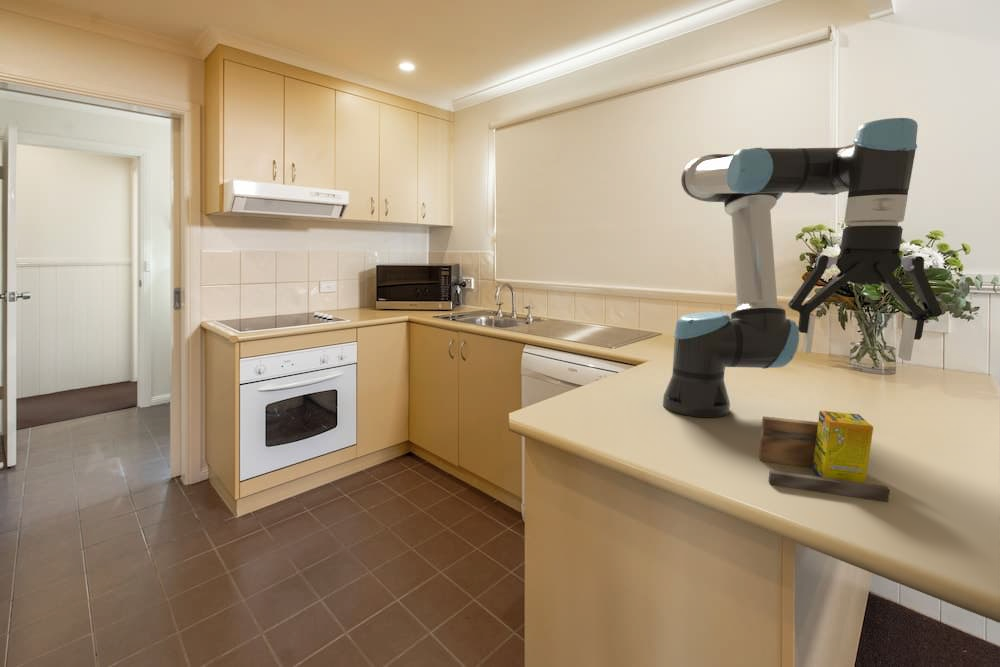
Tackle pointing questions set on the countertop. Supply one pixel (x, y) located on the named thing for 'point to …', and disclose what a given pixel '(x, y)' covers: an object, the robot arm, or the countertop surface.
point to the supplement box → (842, 446)
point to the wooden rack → (805, 460)
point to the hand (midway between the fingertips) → (853, 355)
